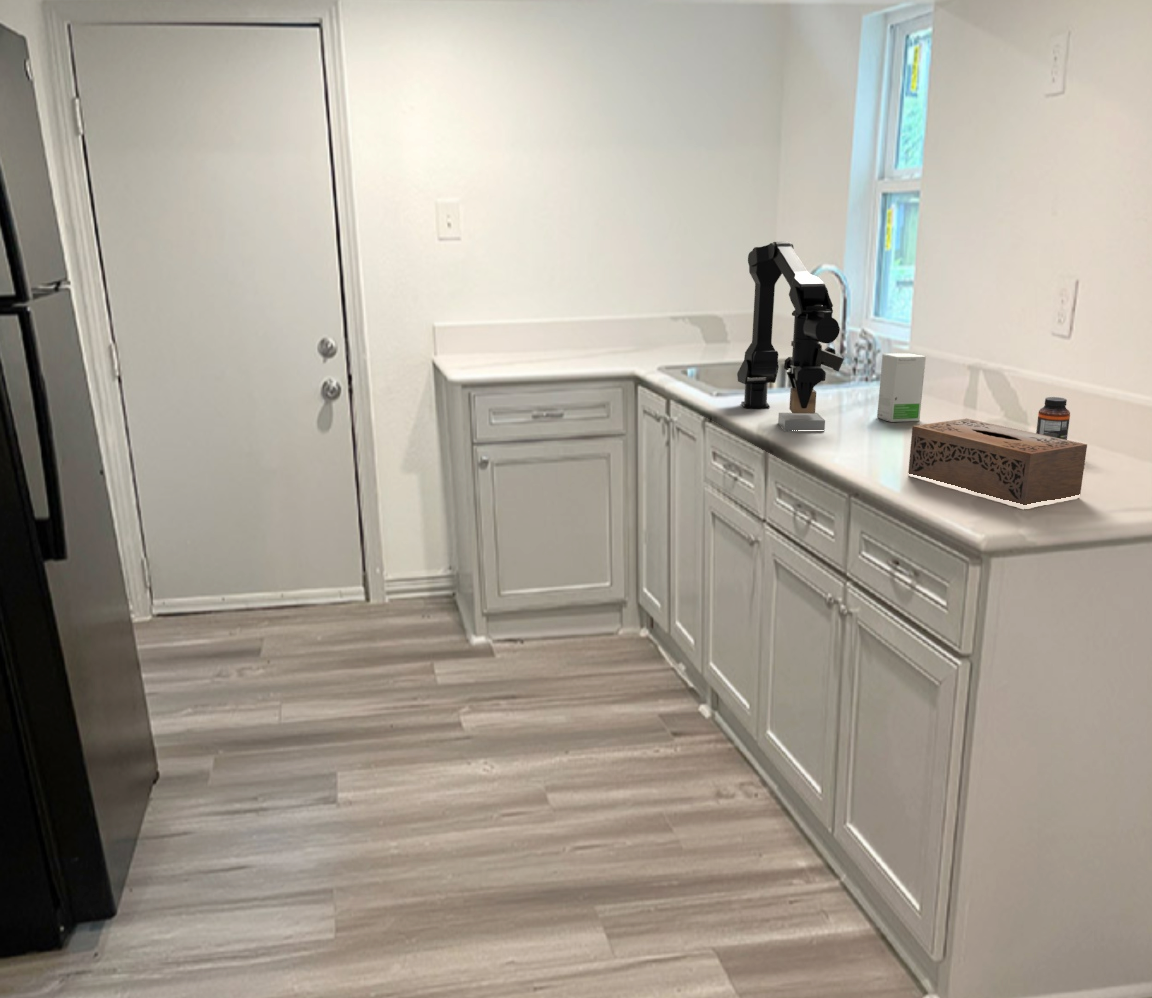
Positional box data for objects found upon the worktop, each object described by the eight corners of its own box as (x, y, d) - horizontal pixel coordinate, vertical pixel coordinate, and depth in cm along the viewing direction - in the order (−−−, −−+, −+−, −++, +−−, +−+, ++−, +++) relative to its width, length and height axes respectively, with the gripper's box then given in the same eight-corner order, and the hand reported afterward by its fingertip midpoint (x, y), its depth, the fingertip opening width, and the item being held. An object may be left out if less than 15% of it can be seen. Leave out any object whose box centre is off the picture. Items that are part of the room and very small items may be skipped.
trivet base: (778, 425, 240) (778, 412, 239) (816, 425, 240) (817, 412, 239) (784, 433, 232) (785, 420, 231) (824, 433, 231) (825, 420, 231)
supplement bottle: (1038, 447, 215) (1045, 394, 212) (1068, 451, 211) (1075, 398, 208) (1030, 452, 211) (1036, 398, 208) (1060, 457, 207) (1067, 402, 204)
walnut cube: (789, 409, 237) (790, 388, 236) (810, 409, 237) (812, 388, 236) (793, 413, 232) (794, 391, 231) (815, 413, 232) (816, 391, 231)
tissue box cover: (1079, 500, 177) (1087, 444, 175) (1023, 511, 171) (1031, 453, 168) (961, 468, 199) (966, 418, 196) (907, 477, 192) (912, 426, 190)
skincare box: (890, 422, 240) (895, 357, 236) (875, 417, 246) (880, 353, 242) (921, 421, 242) (927, 355, 238) (905, 415, 249) (911, 352, 244)
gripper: (851, 343, 221) (846, 414, 225) (833, 333, 239) (829, 398, 243) (799, 343, 221) (795, 413, 225) (785, 333, 239) (782, 398, 243)
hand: (802, 406), depth 234 cm, fingers closed on walnut cube, 5 cm apart
